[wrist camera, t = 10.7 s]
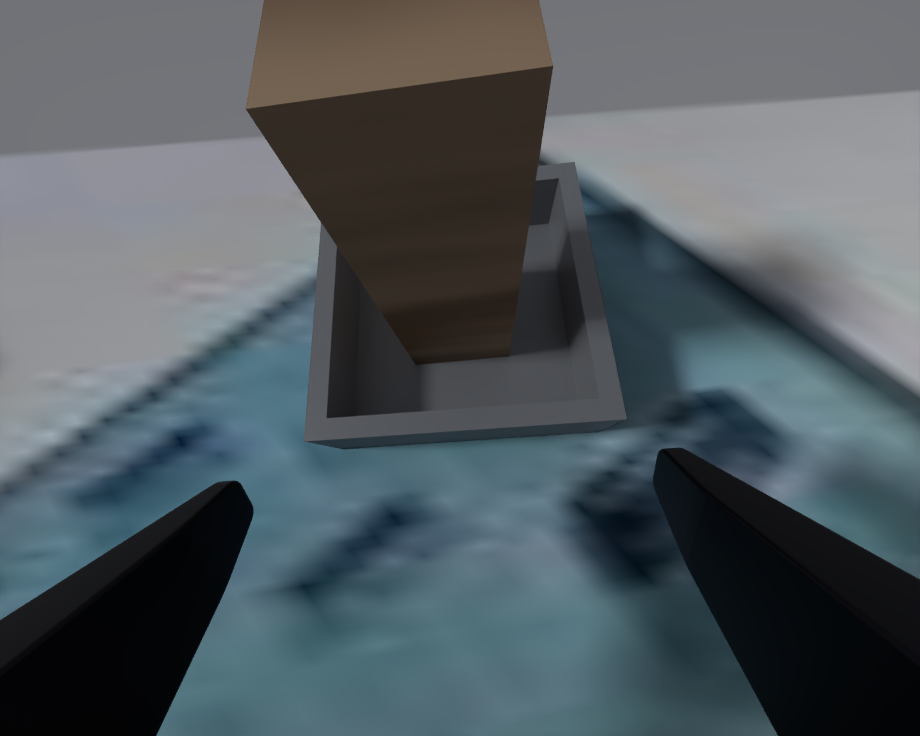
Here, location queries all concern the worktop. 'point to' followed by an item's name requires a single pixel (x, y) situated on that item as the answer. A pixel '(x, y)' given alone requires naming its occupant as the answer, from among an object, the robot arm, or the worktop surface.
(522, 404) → the box
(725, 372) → the worktop surface
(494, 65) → the handle block
